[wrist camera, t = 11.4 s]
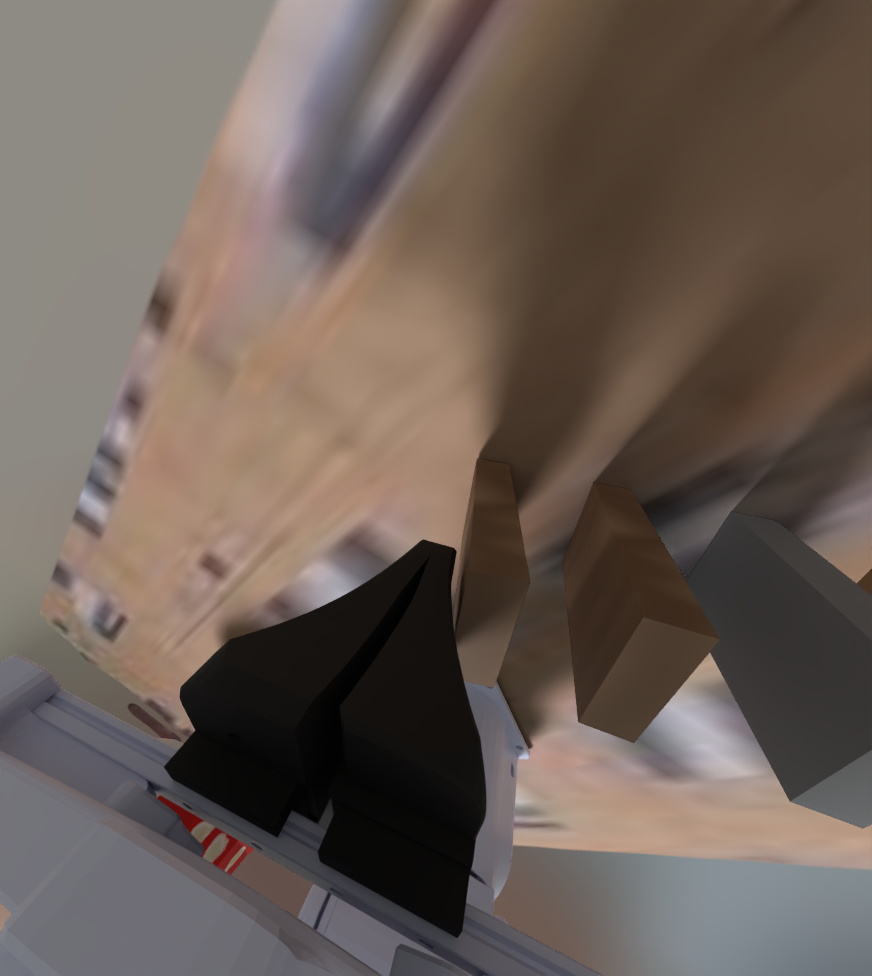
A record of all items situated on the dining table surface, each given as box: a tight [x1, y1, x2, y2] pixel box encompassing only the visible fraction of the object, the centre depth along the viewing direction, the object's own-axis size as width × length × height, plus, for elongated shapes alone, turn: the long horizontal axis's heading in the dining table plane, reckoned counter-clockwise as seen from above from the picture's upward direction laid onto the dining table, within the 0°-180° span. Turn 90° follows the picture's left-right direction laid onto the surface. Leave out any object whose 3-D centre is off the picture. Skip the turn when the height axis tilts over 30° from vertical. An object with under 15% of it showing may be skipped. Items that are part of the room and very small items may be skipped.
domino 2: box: [563, 482, 720, 743], centre depth 12 cm, size 2×5×8 cm, turn 174°
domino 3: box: [686, 512, 872, 828], centre depth 11 cm, size 2×5×8 cm, turn 174°
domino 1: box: [453, 459, 530, 688], centre depth 13 cm, size 2×5×8 cm, turn 173°
